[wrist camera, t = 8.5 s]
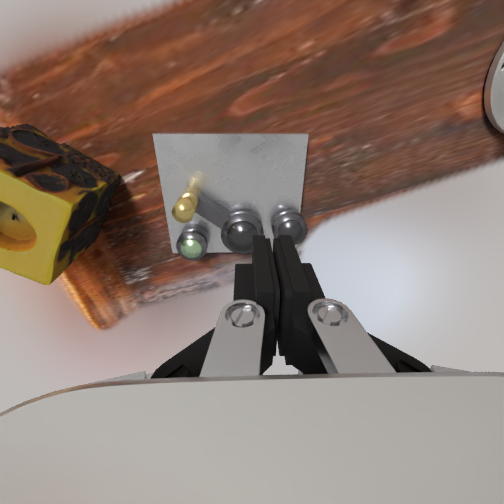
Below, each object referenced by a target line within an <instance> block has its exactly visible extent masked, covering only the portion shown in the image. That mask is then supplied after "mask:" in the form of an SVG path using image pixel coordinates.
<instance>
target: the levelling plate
mask: <svg viewBox="0 0 504 504" xmlns="http://www.w3.org/2000/svg"><path fill="white" fill-rule="evenodd" d="M153 140H154V146H155V151H156V157H157V163H158V169H159V175H160V181H161V187H162V193H163V199H164V205H165V210H166V216H167V222H168V228H169V234H170V240H171V246H172V252H173V253H179V254H180V255H181V256H182V257H183V258H185V259H188V260H198V259H201V258H202V257H203V256H204V255H205V254H206V253H216V252H232V251H230V250H229V249H227V248H226V247H225V245H224V244H223V242H222V240H221V229H220V228H219V227H217V226H216V225H214V224H213V223H211V222H209V221H208V220H206V219H205V218H203V217H202V216H200V215H199V214H197V213H196V212H195V213H194V216H193V218H192V220H191V221H189V222H188V223H180V222H178V221H176V220H175V219H174V218H173V216H172V208H173V207H174V205H175V204H176V202H177V201H178V199H179V198H180V196H181V195H182V193H183V192H184V190H185V189H186V188H187V187H189V186H195V187H197V188H198V189H199V190H200V191H201V193H203V194H204V195H206V196H207V197H209V198H210V199H211V200H213V201H214V202H216V203H217V204H219V205H220V206H222V207H223V208H225V209H226V210H228V211H229V212H232V211H234V210H236V209H248V210H251V211H253V212H255V213H256V214H257V215H258V216H259V217H260V219H261V221H262V225H263V230H264V235H265V238H270V241H271V246H272V252H273V239H274V238H278V235H291V236H292V239H293V242H294V244H295V247H296V249H297V244H298V243H300V242H301V241H302V240H303V239H304V238H305V236H306V234H307V224H306V222H305V220H304V218H303V217H302V215H301V213H300V211H301V201H302V191H303V182H304V172H305V163H306V153H307V143H308V134H307V133H167V132H157V133H154V134H153Z"/></svg>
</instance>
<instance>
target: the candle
mask: <svg viewBox="0 0 504 504" xmlns="http://www.w3.org/2000/svg"><path fill="white" fill-rule="evenodd" d="M119 181H120V179H119V174H118V173H116V172H114V171H113V170H111V169H109V168H107V167H105V166H103V165H102V164H100V163H98V162H97V161H96V160H93V159H92V158H90V157H88V156H87V155H84V154H82V153H81V152H79V151H78V150H76V149H74V148H72V147H68V146H67V145H66V144H65V143H62V144H58V143H56V142H55V141H53V140H52V139H50V138H49V137H47V136H46V135H44V134H43V133H42V132H41V131H40V130H38V129H36V128H35V127H33V126H30V125H29V124H22V125H17V126H16V127H15V126H12V127H11V128H9V127H6V128H2V127H0V268H3V269H6V270H8V271H10V272H13V273H15V274H17V275H20V276H23V277H26V278H28V279H31V280H34V281H36V282H39V283H41V284H44V285H50V284H51V283H52V282H53V281H54V280H55V279H56V278H57V277H58V276H59V275H61V273H62V272H63V271H64V270H65V269H66V268H67V267H68V266H69V265H70V264H71V263H72V261H73V260H75V259H76V258H77V257H78V255H79V254H80V253H81V252H83V251H84V250H86V249H87V248H88V247H90V246H91V244H92V243H93V242H95V240H96V238H97V236H98V235H99V231H100V229H101V228H102V226H103V221H104V220H105V217H106V213H107V211H108V209H109V206H110V205H111V200H112V196H113V194H114V192H115V189H116V186H117V184H118V182H119Z"/></svg>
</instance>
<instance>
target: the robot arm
mask: <svg viewBox="0 0 504 504" xmlns="http://www.w3.org/2000/svg"><path fill="white" fill-rule="evenodd" d="M484 103H485V111H486V114H487V117H488V119H489V121H490V122H491V124H492V125H493V127H495V128H496V129H497V130H498V131H500V132H501V133H504V41H503V43H502V45H501V46H500V48H499V50H498V52H497V53H496V55H495V57H494V60H493V62H492V65H491V67H490V69H489V73H488V76H487V80H486V84H485V93H484ZM277 341H278V349H279V355H280V356H285V361H286V365H293V366H294V367H295V368H297V369H298V370H299V371H298V375H263V373H264V372H265V371H266V370H267V369H268V368H269V367H270V366H271V365H272V361H273V356H275V355H276V344H277ZM0 504H504V373H500V372H468V371H462V370H457V369H450V368H445V367H439V366H434V365H432V366H431V368H430V369H429V368H428V367H427V366H426V365H425V364H423V363H422V362H420V361H419V360H417V359H415V358H414V357H412V356H410V355H408V354H406V353H404V352H402V351H400V350H398V349H397V348H395V347H393V346H391V345H389V344H387V343H385V342H384V341H382V340H380V339H378V338H376V337H374V336H373V335H371V334H369V333H367V332H366V330H364V328H363V326H362V325H361V324H360V322H359V321H358V320H357V318H356V317H355V315H354V314H353V313H352V312H351V310H350V309H349V308H348V307H347V306H346V305H344V304H343V303H341V302H338V301H336V300H332V299H326V298H325V296H324V294H323V291H322V289H321V287H320V284H319V282H318V279H317V277H316V275H315V272H314V270H313V267H312V265H311V264H310V263H301V261H300V258H299V256H298V253H297V250H296V247H295V244H294V242H293V239H292V236H291V235H278V238H274V239H273V252H272V246H271V241H270V238H265V235H253V246H252V264H236V265H235V282H234V301H232V302H230V303H228V304H227V305H226V306H224V307H223V309H222V311H221V312H220V315H219V319H218V321H217V325H216V327H215V328H214V329H212V330H211V331H209V332H208V333H207V334H205V335H204V336H202V337H201V338H199V339H198V340H196V341H195V342H194V343H192V344H191V345H189V346H188V347H187V348H185V349H184V350H182V351H181V352H179V353H178V354H176V355H175V356H173V357H172V358H171V359H169V360H168V361H166V362H165V363H163V364H162V365H161V366H160V367H159V368H158V369H156V371H155V372H154V373H151V374H147V375H146V373H145V371H143V372H138V373H134V374H129V375H125V376H120V377H116V378H112V379H107V380H103V381H98V382H94V383H89V384H84V385H79V386H75V387H71V388H66V389H62V390H59V391H54V392H51V393H48V394H46V395H42V396H40V397H37V398H34V399H31V400H28V401H25V402H23V403H21V404H18V405H16V406H14V407H12V408H10V409H8V410H6V411H4V412H1V413H0Z"/></svg>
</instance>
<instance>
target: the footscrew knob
mask: <svg viewBox="0 0 504 504" xmlns="http://www.w3.org/2000/svg"><path fill="white" fill-rule="evenodd" d="M195 212H196V213H197V214H199V215H200V216H202V217H203V218H205V219H206V220H208V221H209V222H211V223H213V224H214V225H216V226H217V227H219V228H220V229H221V240H222V242H223V244H224V245H225V247H226V248H227V249H229V250H230V251H232V252H234V253H238V254H247V253H251V252H252V246H253V235H264V230H263V225H262V221H261V219H260V217H259V216H258V215H257V214H256V213H255V212H253V211H251V210H248V209H236V210H234V211H232V212H229V211H228V210H226V209H225V208H223V207H222V206H220V205H219V204H217V203H216V202H214V201H213V200H211V199H210V198H209V197H207V196H206V195H204V194H203V193H201V191H200V190H199V189H198V188H197V187H195V186H189V187H187V188H186V189H185V190H184V192H183V193H182V195H181V196H180V198H179V199H178V201H177V202H176V204H175V205H174V207H173V208H172V216H173V218H174V219H175V220H176V221H178V222H180V223H188V222H189V221H191V220H192V218H193V216H194V213H195Z"/></svg>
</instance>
